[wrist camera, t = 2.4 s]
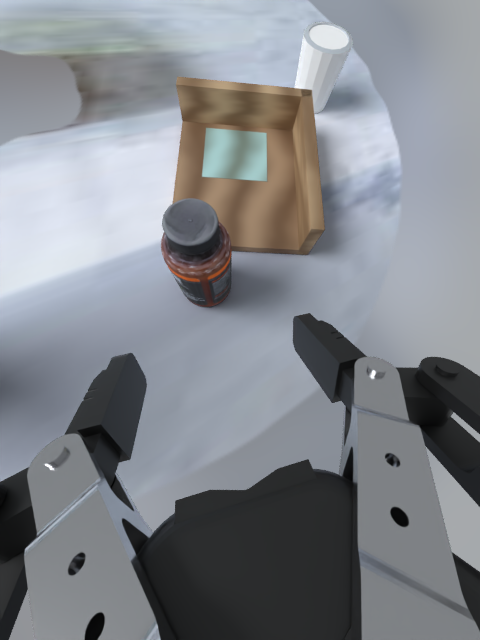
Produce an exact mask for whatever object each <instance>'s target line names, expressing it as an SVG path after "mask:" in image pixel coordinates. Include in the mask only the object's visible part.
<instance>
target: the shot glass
mask: <svg viewBox="0 0 480 640" xmlns="http://www.w3.org/2000/svg"><path fill="white" fill-rule="evenodd" d="M352 45H353V39H352V37H351V35H350V33H349V32H348V31H346V30H345V29H344V28H343V27H341V26H338V25H336V24H334V23H329V22H315V23H313V24H310V25H308V26H307V28H306V29H305V30H304V35H303V41H302V47H301V53H300V59H299V65H298V71H297V76H296V82H295V88H299V89H309V90H312V96H313V107H314V114H315V113H319V112H321V111H322V110H323V109H324V107H325V106H326V103H327V101H328V99H329V97H330V94H331V92H332V90H333V88H334V85H335V83H336V81H337V79H338V77H339V74H340V72H341V70H342V68H343V65H344V63H345V61H346V59H347V56H348V54H349V52H350V50H351V48H352Z"/></svg>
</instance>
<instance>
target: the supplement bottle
mask: <svg viewBox="0 0 480 640" xmlns="http://www.w3.org/2000/svg"><path fill="white" fill-rule="evenodd" d="M162 225H163V230H164V234H163V237H162V240H161V250H162V255H163V257H164V260H165V262H166V264H167V265H168V267H169V269H170V271H171V273H172V274H173V276H174V278H175V279H176V281H177V283H178V284H179V286H180V288H181V290H182V291H183V293H184V295H185V296H186V297H187V298H188V300H189V301H191V302H192V303H194V304H195V305H198V306H202V307H209V306H214V305H217V304H219V303H220V302H222V301H223V300H224V299H225V298H226V297H227V295H228V293H229V291H230V287H231V240H230V236H229V234H228V232H227V230H226V228H225V227H224V226H223V225H222V224H221V223H220V222H219V221H218V217H217V214H216V212H215V210H214V209H213V208H212V207H211V205H209V204H208V203H206V202H204V201H202V200H199V199H193V198H188V199H182V200H179V201H177V202H175V203H173V204H172V205H170V207H169V208H168V209H167V210H166V212H165V214H164V215H163V220H162Z"/></svg>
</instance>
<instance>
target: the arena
mask: <svg viewBox="0 0 480 640" xmlns="http://www.w3.org/2000/svg"><path fill="white" fill-rule="evenodd" d="M176 86H177V92H178V97H179V103H180V109H181V114H182V120H183V123H182V131H181V139H180V148H179V156H178V164H177V172H176V180H175V189H174V197H173V203H175V202H177V201H179V200H182V199H188V198H193V199H199V200H202V201H204V202H206V203H208V204H209V205H211V207H212V208H213V209H214V210H215V212H216V214H217V217H218V221H219V222H220V223H221V224H222V225H223V226H224V227H225V228H226V230H227V232H228V234H229V236H230V240H231V251H245V252H264V253H283V254H301V255H308V253H309V252H310V250H311V249H312V248H313V246H314V245H315V243H316V242H317V240H318V239H319V237H320V236H321V235H322V233H323V232H324V230H325V226H324V216H323V205H322V194H321V183H320V172H319V161H318V150H317V139H316V128H315V117H314V107H313V96H312V90H309V89H299V88H288V87H278V86H268V85H258V84H247V83H237V82H227V81H217V80H206V79H196V78H186V77H177V83H176Z"/></svg>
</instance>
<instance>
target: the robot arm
mask: <svg viewBox="0 0 480 640" xmlns="http://www.w3.org/2000/svg"><path fill="white" fill-rule="evenodd" d="M293 344H294V348H295V350H296V352H297V353H298V355H299V356H300V358H301V359H302V361H303V362H304V363H305V365H306V366H307V368H308V369H309V371H310V372H311V373H312V375H313V376H314V378H315V379H316V381H317V382H318V383H319V385H320V386H321V388H322V389H323V391H324V392H325V393H326V395H327V396H328V398H329V399H330V401H331V402H332V403H335V402H338V401H342V402H343V403H344V405H345V408H344V421H343V440H342V454H341V461H340V469H339V475H338V474H336V473H333V472H329V471H326V470H320V469H312V466H311V464H310V462H309V460H304V461H301V462H298V463H295V464H291V465H288V466H285V467H282V468H279V469H277V470H275V471H274V472H272V473H271V474H270V475H268V476H267V477H265V478H264V479H262V480H261V481H259V482H258V483H256V484H255V485H254V486H252V487H251V488H249V489H247V490H208V491H205V492H202V493H199V494H196V495H192V496H189V497H186V498H183V499H179V500H176V502H175V513H174V514H173V515H172V516H170V517H169V518H168V519H167V520H165V521H164V522H163V523H162V524H161V525H160V526H159V527H158V528H157V529H156V530H155V531H154V533H153V532H152V530H151V529H150V527H149V526H148V525H147V523H146V522H145V521H144V519H143V518H142V517H141V515H140V513H139V512H138V510H137V508H136V506H135V504H134V503H133V501H132V499H131V497H130V495H129V494H128V492H127V490H126V488H125V486H124V484H123V483H122V481H121V479H120V477H119V475H118V474H117V473H116V470H117V466H118V463H119V462H122V461H126V460H129V459H131V454H132V450H133V445H134V441H135V437H136V432H137V428H138V423H139V419H140V414H141V410H142V406H143V401H144V397H145V392H146V387H147V383H146V378H145V375H144V373H143V371H142V370H141V368H140V366H139V364H138V362H137V360H136V358H135V356H134V355H133V354H132V353H129V354H124V355H120V356H115V357H113V358H112V359H111V361H110V363H109V365H108V367H107V369H106V370H103V371H102V372H101V373H100V374H99V375H98V376H97V377H96V378H95V379H94V380H93V382H92V384H91V386H90V388H89V389H88V392H87V393H86V395H85V397H84V401H82V403H81V405H80V406H79V408H78V410H77V412H76V414H75V416H74V418H73V420H72V422H71V423H70V425H69V427H68V429H67V431H66V433H65V435H64V436H61V437H59V438H57V439H56V440H54V441H52V442H51V443H50V444H48V445H47V446H46V447H45V448H44V449H42V450H41V451H40V452H39V454H38V455H37V456H36V457H35V458H34V460H33V461H32V463H31V465H30V467H28V468H26V469H24V470H22V471H21V472H19V473H17V474H15V475H13V476H11V477H9V478H7V479H5V480H3V481H1V482H0V640H9V637H10V635H11V632H12V629H13V627H14V624H15V621H16V619H17V616H18V613H19V611H20V608H21V605H22V603H23V600H24V597H25V595H26V592H27V590H28V594H29V602H30V609H31V617H32V626H33V634H34V640H480V572H479V571H478V570H476V569H475V568H473V567H472V566H471V565H469V564H468V563H466V562H465V561H464V560H462V559H461V558H459V557H458V556H456V555H455V554H454V553H452V551H451V547H450V543H449V540H448V536H447V531H446V528H445V523H444V519H443V515H442V512H441V508H440V503H439V500H438V495H437V491H436V488H435V483H434V479H433V476H432V472H431V467H430V464H429V460H428V455H427V452H426V448H425V446H426V447H427V448H428V449H429V450H430V451H431V453H432V454H433V455H434V456H435V457H436V458H437V459H438V460H439V462H440V463H441V464H442V465H443V466H444V467H445V468H446V469H447V471H448V472H449V473H450V474H451V475H452V476H453V477H454V478H455V480H456V481H457V482H458V483H459V484H460V485H461V486H462V488H463V489H464V490H465V491H466V492H467V493H468V494H469V495H470V497H471V498H472V499H473V500H474V501H475V502H476V503H477V504H478V506H480V443H479V442H478V441H477V440H476V439H475V438H474V437H473V436H472V435H471V434H469V433H468V432H467V431H466V430H465V429H464V428H463V427H461V426H460V425H459V424H458V423H457V422H456V421H455V420H454V419H453V418H451V417H450V416H451V415H452V414H453V412H455V413H456V414H457V415H458V416H459V417H460V418H461V419H463V420H464V421H465V422H466V423H468V425H470V426H471V427H472V428H473V429H474V430H475V431H477V432H478V433H479V434H480V377H479V376H478V375H476V374H475V373H473V372H472V371H470V370H469V369H467V368H466V367H464V366H462V365H460V364H459V363H457V362H454V361H452V360H449V359H445V358H440V357H427V358H425V359H423V360H422V361H421V363H420V365H419V367H418V368H395V367H394V366H393V365H392V364H390V363H389V362H387V361H385V360H383V359H380V358H376V357H367V356H365V355H364V354H363V353H362V352H361V351H360V350H359V349H358V348H357V347H355V346H354V345H353V344H352V343H351V342H350V341H349V340H348V339H347V338H344V336H343V335H342V334H341V333H340V332H338V330H336V329H335V328H334V327H333V326H332V325H330V324H328V323H326V322H324V321H322V320H321V321H318V320H316V319H315V318H314V317H313V316H312V315H311V314H310V313H308V314H303V315H299V316H295V317H294V319H293Z"/></svg>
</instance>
